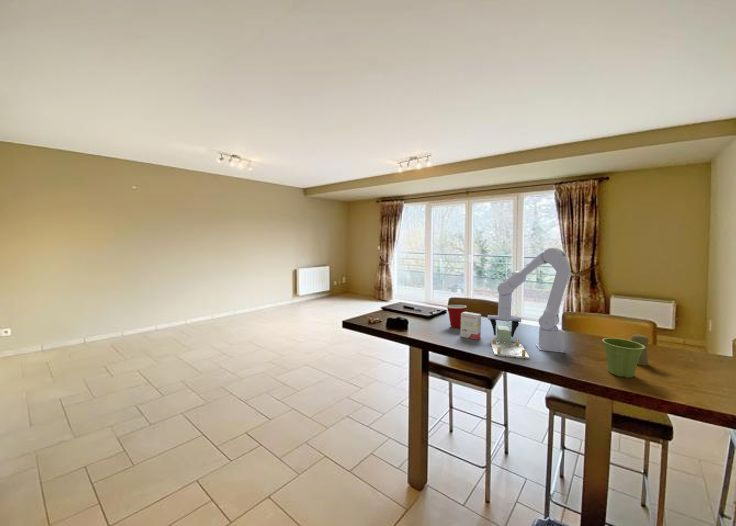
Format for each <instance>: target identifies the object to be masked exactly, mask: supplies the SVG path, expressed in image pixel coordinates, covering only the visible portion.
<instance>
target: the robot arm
mask: <svg viewBox="0 0 736 526" xmlns="http://www.w3.org/2000/svg"><path fill="white" fill-rule="evenodd" d="M545 264H549V265H550V266H551V267H552V268H553V269H554V270H555V274H554V280H553V283H552V286H551V289H550V294H549V296H548V299H547V303H546V306H545V309H544V310H543V313H542V315H541V316H540V317H539V318H538V325H539V327H538V329H539V330H538V343H535V346H536V347H537V348H538V350H539V351H542V352H543V351H544V352H552V353H565V339H566V338H565V337H566V336H565V332H564V330H563V329H559V327H558V324H559V322H560V316H559V314H560V307H561V304H562V301H563V297H564V294H565V290H566V287H567V283H568V281H569V280H568V279H569V278H570V274H571V266H570V263H569V261H568V259H567V255H566V254H565V252H564V251H563V250H561V249H560V248H558V247H557V248H556V247H551V248H550V247H549V248H547V249H546V248H545V250H544V251H542V252H541V253H539V254H537V256H535V257H534V259H532V260H531V261H530V262H529V263H528V264H527V265H526V266H525V267H524V268H522V269H521V270H516V271H512V272H511V275H510V276H508V278H507V279H506V278H505V279H504V280H503V282H501V283H499V284H498V286H497V292H498V303H497V304H498V305H497V306H498V307H497V315H496V314H492V315H491V314H487V320H488V321H490V323H491V326H492V330H493V336H494V337H497V336H496V335H497V321H501V322H511V330H510V331H511V338H514V335H515V332H516V330H517V328H518V327H519V325H520V323H522V317H518V316H512V305H513V303H512V301H513V300H512V299H513V297H512V295H513V292H515V290H516V289H517V288H518V287H520V286H521V285H522V284H524V282H526V281H527V276H528V275H530V274H531V273H532V272H533V271H535V270H536V269H537V268H539V267H540V266H542V265H545Z"/></svg>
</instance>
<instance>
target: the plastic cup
mask: <svg viewBox="0 0 736 526" xmlns="http://www.w3.org/2000/svg"><path fill="white" fill-rule="evenodd" d="M446 307H447V308H446V309H447V311H448V318H449V323H450V327H451V328H452V329H461V313H463V312H466V310H467V305H466V304H465V305H464V304H449V305H446Z"/></svg>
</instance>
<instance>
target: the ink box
mask: <svg viewBox="0 0 736 526" xmlns="http://www.w3.org/2000/svg"><path fill="white" fill-rule="evenodd" d="M481 330H482V313H475V312H468V311H465V312H463V313H461V328H460V337H461V338H467V339H471V340H475V341H476V340H477V341H478V340H479V339H481V335H482V333H481V332H482V331H481Z"/></svg>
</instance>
